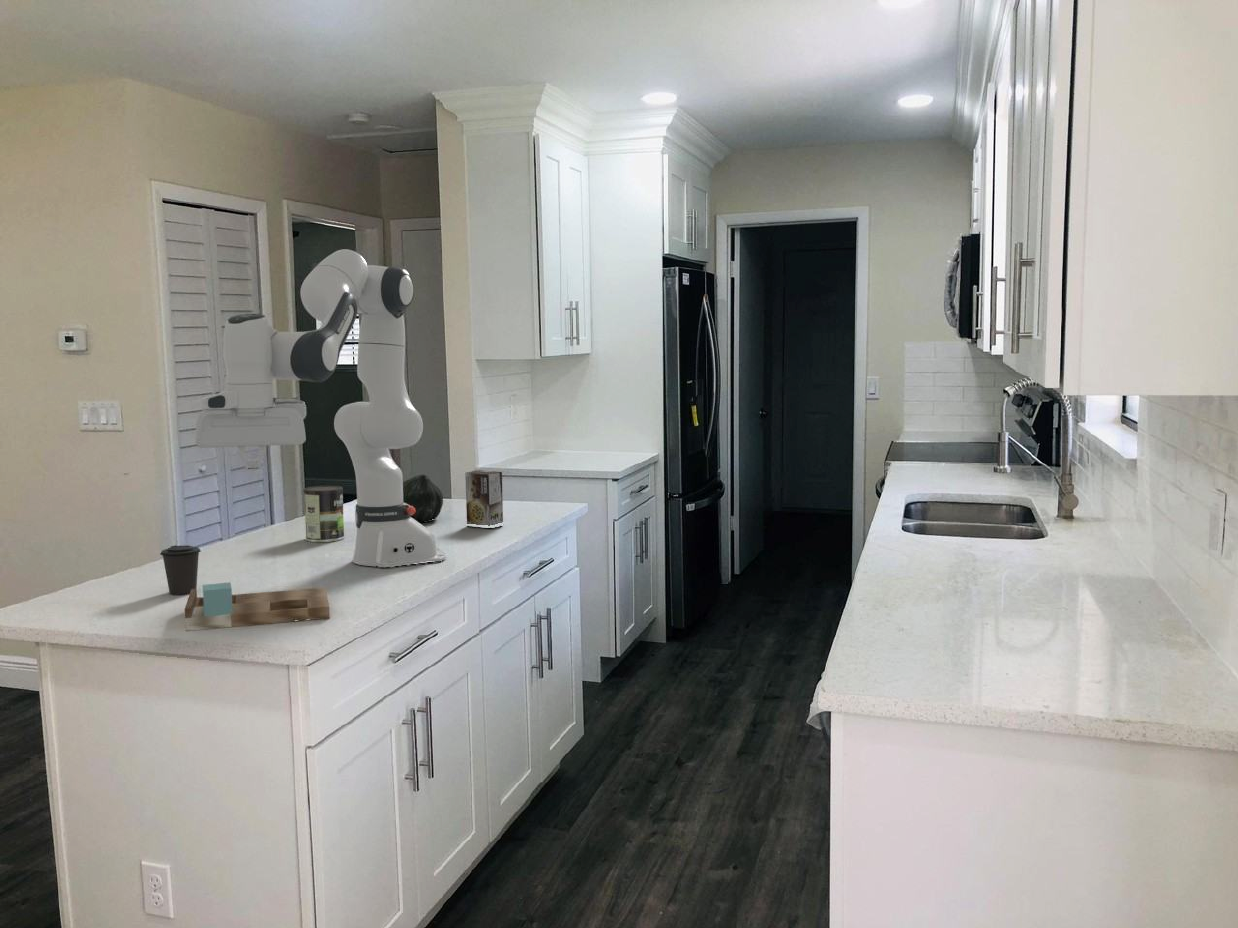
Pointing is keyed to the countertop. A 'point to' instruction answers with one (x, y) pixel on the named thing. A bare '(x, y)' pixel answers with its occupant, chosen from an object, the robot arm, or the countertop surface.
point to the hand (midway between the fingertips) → (253, 469)
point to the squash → (423, 497)
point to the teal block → (217, 599)
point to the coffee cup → (181, 568)
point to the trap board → (260, 609)
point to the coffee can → (324, 513)
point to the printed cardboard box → (484, 497)
